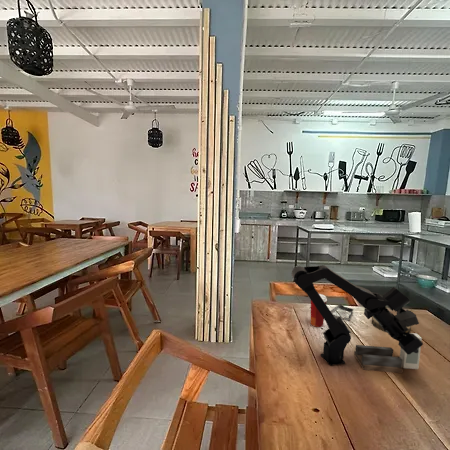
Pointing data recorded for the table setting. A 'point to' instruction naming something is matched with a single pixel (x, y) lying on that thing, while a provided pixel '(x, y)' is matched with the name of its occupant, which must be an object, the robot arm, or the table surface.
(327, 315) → the robot arm
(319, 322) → the paper cup
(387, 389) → the table surface
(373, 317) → the brown round disc
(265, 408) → the table surface
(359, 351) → the display ledge
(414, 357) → the cream slab
